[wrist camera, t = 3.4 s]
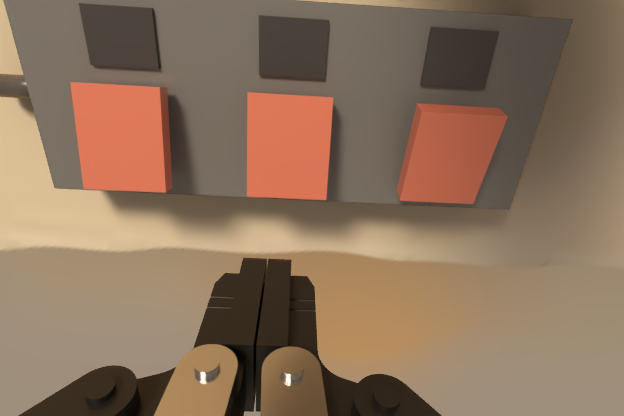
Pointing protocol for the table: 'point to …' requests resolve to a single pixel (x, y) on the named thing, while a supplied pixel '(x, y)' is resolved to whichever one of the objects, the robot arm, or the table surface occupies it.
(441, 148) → the block
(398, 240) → the table surface
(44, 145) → the power strip
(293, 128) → the block
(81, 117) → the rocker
